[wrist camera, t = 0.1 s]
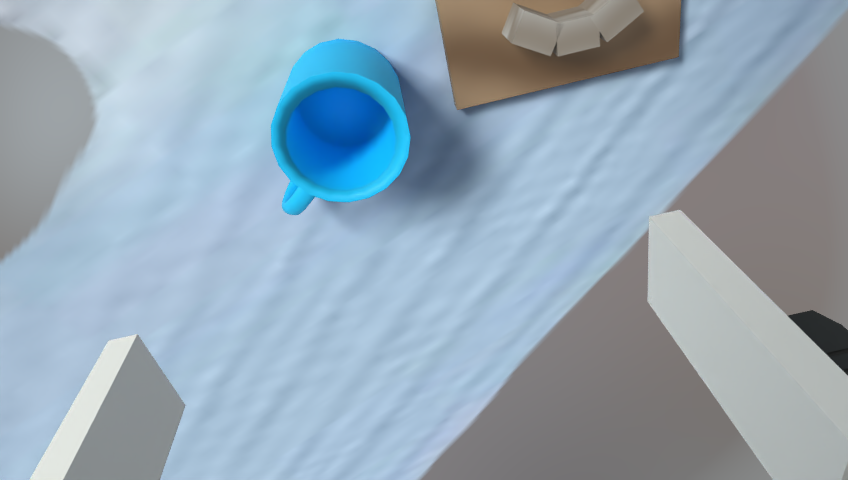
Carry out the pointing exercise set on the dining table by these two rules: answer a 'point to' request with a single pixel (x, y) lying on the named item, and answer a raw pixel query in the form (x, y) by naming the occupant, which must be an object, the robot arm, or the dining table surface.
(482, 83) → the board
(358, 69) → the mug
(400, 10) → the dining table surface
